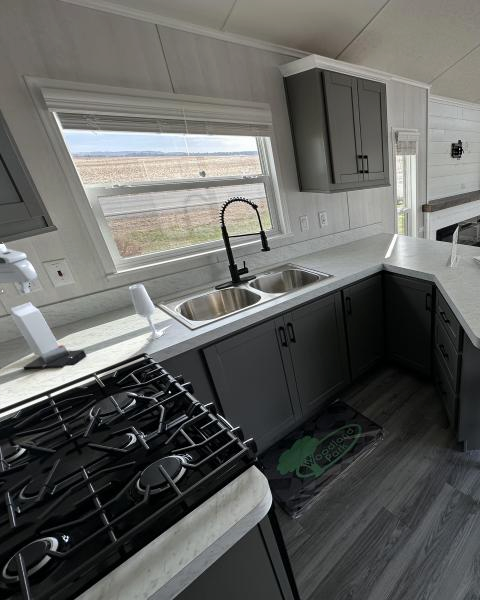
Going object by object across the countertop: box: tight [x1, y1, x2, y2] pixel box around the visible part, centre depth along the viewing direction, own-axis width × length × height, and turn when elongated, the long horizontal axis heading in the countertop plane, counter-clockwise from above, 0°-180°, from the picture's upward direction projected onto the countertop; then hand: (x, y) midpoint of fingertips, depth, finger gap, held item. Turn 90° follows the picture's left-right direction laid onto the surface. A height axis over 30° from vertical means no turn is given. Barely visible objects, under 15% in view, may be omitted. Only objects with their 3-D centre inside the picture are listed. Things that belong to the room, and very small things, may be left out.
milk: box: [10, 301, 60, 357], centre depth 131 cm, size 6×6×22 cm
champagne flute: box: [128, 283, 164, 340], centre depth 141 cm, size 7×7×24 cm
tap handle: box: [39, 344, 68, 363], centre depth 126 cm, size 7×2×4 cm, turn 163°
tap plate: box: [22, 349, 87, 371], centre depth 127 cm, size 14×11×3 cm
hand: (12, 293), depth 119 cm, fingers open, 8 cm apart
